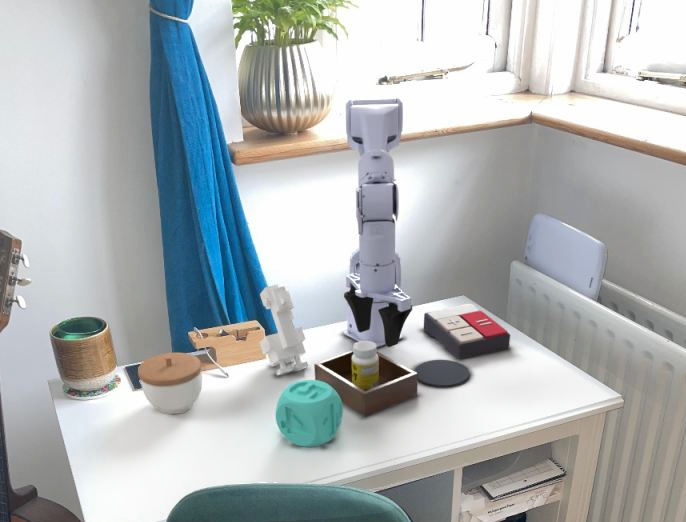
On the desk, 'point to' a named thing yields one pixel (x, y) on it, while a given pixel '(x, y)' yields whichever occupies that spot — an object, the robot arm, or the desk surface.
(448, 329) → the calculator
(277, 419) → the decorative dice
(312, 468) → the desk surface
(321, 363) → the box
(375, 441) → the desk surface
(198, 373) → the trinket box
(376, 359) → the supplement bottle
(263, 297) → the voxel character
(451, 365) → the coaster
